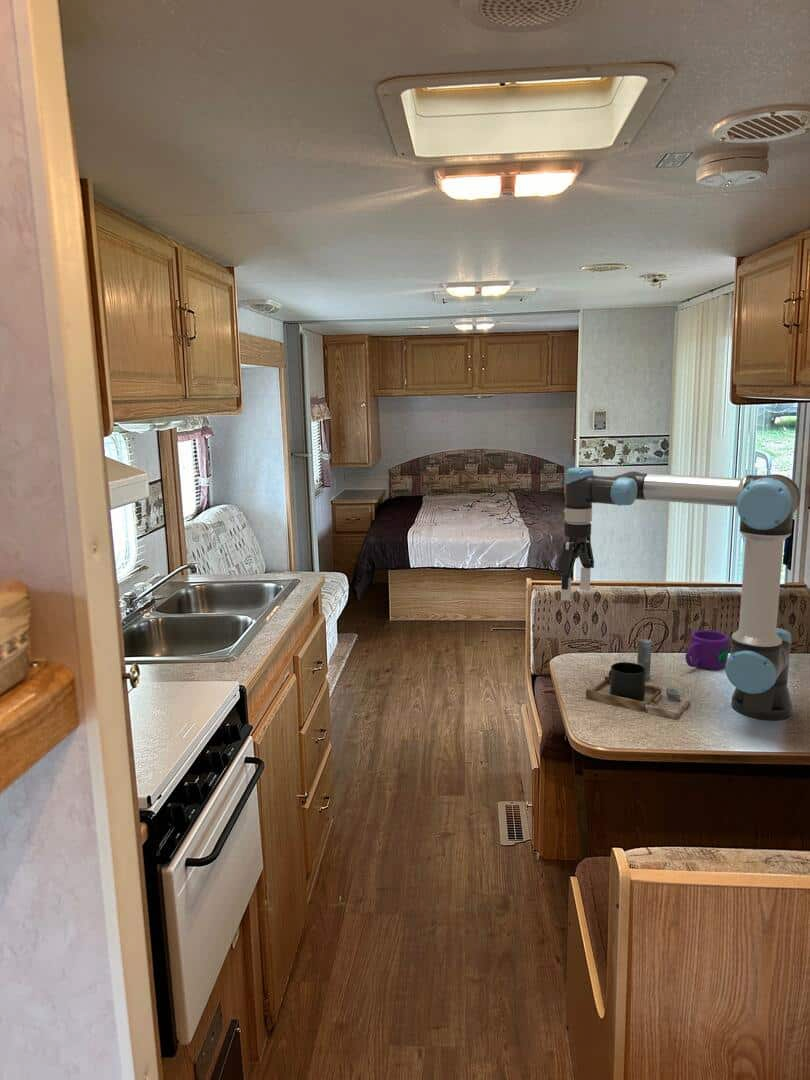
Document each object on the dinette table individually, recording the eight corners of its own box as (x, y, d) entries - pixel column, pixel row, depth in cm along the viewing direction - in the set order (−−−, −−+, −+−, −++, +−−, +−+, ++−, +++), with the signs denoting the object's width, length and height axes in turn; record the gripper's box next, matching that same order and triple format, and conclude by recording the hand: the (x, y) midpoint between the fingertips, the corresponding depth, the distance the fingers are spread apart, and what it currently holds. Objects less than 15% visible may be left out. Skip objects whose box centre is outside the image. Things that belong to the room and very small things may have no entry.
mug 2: (702, 656, 252) (704, 627, 250) (734, 666, 243) (737, 636, 241) (669, 668, 242) (671, 637, 240) (702, 678, 233) (704, 647, 231)
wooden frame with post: (672, 682, 230) (674, 644, 228) (643, 712, 210) (645, 670, 208) (618, 671, 240) (620, 634, 237) (585, 698, 219) (587, 658, 217)
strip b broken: (694, 699, 218) (695, 692, 218) (677, 719, 205) (677, 712, 204) (664, 692, 223) (664, 686, 223) (644, 712, 210) (645, 705, 209)
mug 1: (620, 686, 228) (621, 657, 226) (651, 700, 218) (653, 669, 216) (596, 692, 224) (597, 663, 222) (627, 707, 213) (628, 676, 212)
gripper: (583, 515, 231) (580, 583, 235) (546, 527, 211) (544, 602, 216) (607, 517, 227) (604, 587, 231) (572, 530, 207) (569, 606, 211)
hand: (575, 594), depth 223 cm, fingers open, 13 cm apart
